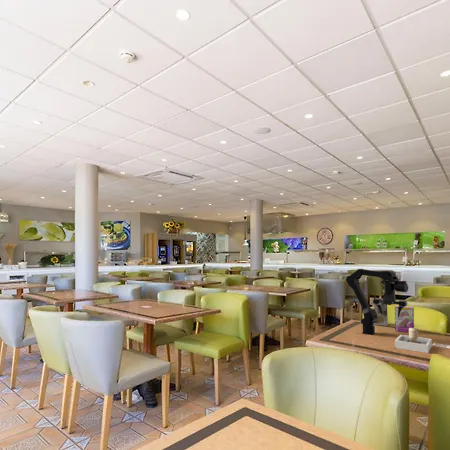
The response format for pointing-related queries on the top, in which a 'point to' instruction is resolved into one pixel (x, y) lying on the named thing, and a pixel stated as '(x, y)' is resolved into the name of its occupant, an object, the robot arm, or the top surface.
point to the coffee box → (381, 319)
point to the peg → (413, 335)
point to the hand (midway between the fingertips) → (390, 316)
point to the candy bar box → (404, 319)
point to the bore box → (413, 344)
